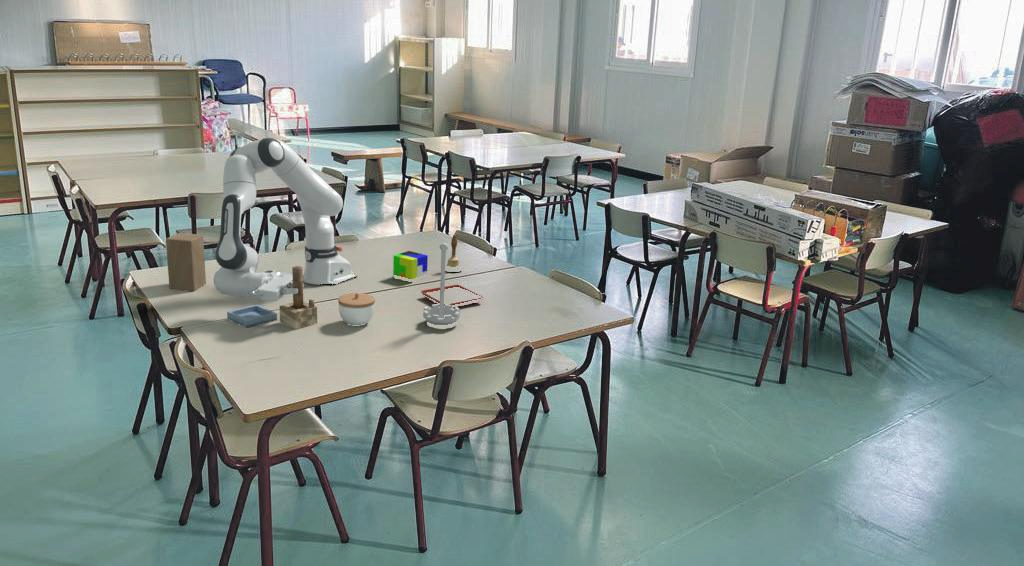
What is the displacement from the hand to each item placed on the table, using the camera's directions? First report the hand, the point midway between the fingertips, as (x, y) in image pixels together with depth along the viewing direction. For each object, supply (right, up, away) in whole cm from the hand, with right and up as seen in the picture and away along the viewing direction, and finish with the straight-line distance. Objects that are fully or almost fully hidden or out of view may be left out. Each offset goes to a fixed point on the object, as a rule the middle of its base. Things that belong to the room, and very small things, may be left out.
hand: (300, 288), depth 271 cm
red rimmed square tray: (+49, -6, +36) cm, 61 cm away
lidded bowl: (+18, -12, +7) cm, 23 cm away
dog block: (-2, -12, +4) cm, 13 cm away
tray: (-18, -11, +4) cm, 21 cm away
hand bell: (+47, +7, +74) cm, 88 cm away
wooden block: (-52, 0, +33) cm, 62 cm away
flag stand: (+47, -13, +11) cm, 50 cm away
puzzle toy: (+30, +4, +60) cm, 67 cm away
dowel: (-1, -10, +3) cm, 11 cm away
